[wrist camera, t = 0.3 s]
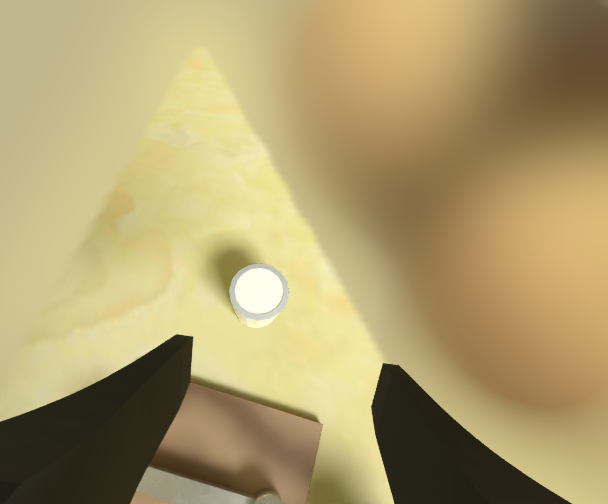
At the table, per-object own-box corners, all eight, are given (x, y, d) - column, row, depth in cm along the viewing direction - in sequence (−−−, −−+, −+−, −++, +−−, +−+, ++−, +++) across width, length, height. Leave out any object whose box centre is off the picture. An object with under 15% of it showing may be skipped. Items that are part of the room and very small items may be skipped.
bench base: (273, 636, 29) (274, 645, 28) (41, 569, 28) (33, 577, 27) (320, 423, 38) (323, 424, 36) (142, 366, 37) (139, 365, 35)
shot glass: (220, 319, 41) (217, 304, 34) (244, 275, 44) (245, 253, 38) (269, 341, 41) (274, 330, 34) (289, 295, 44) (298, 277, 38)
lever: (276, 537, 31) (286, 571, 25) (97, 483, 30) (60, 504, 24) (287, 493, 33) (299, 515, 26) (117, 441, 32) (87, 451, 26)
